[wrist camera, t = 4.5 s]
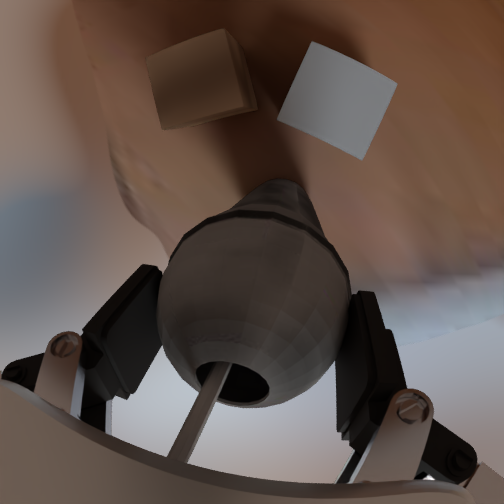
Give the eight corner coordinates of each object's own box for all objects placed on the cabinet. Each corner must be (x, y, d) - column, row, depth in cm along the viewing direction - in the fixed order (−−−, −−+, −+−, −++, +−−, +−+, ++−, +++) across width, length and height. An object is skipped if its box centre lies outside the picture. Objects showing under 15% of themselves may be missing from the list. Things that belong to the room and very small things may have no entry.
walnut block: (179, 67, 17) (145, 57, 12) (242, 47, 16) (223, 27, 11) (193, 126, 19) (162, 130, 14) (258, 109, 18) (243, 106, 13)
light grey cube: (310, 60, 15) (311, 41, 11) (375, 91, 15) (397, 83, 11) (283, 120, 18) (276, 119, 13) (347, 150, 18) (362, 160, 13)
